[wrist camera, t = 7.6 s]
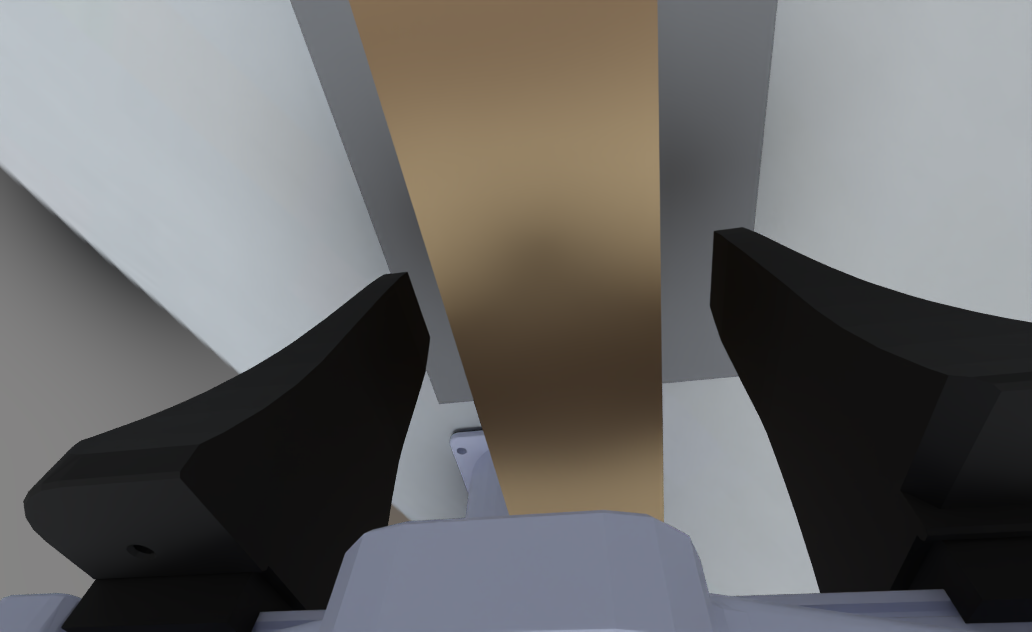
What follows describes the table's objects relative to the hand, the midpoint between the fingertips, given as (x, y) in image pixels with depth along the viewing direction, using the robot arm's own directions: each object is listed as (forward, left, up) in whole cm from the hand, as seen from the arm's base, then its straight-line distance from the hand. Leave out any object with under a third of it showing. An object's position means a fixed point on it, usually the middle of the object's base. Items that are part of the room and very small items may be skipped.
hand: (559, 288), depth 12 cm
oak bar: (0, 0, -3) cm, 3 cm away
